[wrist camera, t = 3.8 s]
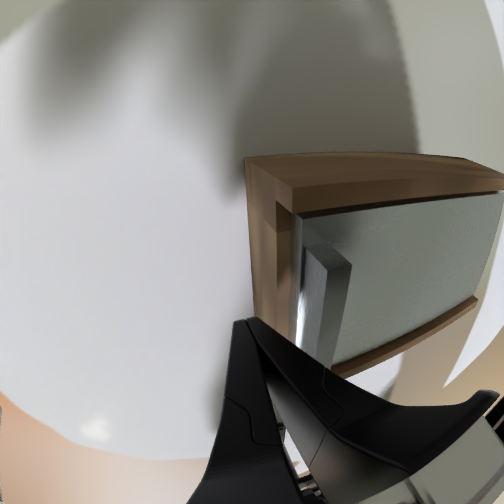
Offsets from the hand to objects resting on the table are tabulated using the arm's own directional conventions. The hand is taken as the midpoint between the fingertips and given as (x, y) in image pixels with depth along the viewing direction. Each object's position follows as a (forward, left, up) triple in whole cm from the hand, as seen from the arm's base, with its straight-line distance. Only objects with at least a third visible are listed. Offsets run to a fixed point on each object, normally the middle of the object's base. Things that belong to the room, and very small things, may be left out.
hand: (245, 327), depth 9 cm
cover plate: (0, -9, 0) cm, 9 cm away
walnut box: (0, -9, -4) cm, 10 cm away
